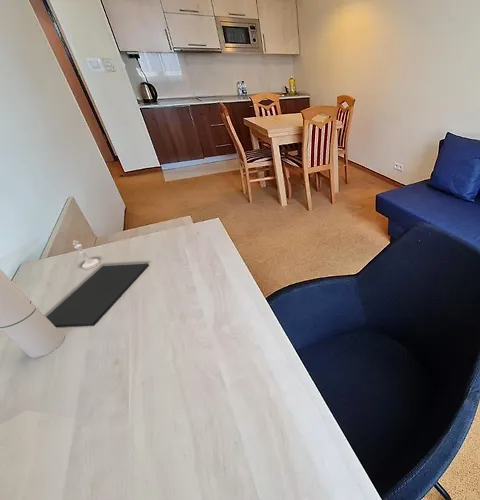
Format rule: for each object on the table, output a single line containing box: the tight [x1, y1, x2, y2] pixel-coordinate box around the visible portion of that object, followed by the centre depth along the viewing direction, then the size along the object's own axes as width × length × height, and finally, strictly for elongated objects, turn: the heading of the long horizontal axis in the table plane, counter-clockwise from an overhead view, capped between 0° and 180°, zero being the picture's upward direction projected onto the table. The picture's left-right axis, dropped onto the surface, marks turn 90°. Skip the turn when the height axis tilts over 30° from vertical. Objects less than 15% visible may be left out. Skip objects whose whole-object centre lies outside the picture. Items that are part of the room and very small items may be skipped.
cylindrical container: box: [0, 268, 65, 359], centre depth 69 cm, size 7×7×25 cm
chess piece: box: [72, 240, 101, 270], centre depth 102 cm, size 5×5×10 cm
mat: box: [45, 263, 150, 328], centre depth 91 cm, size 16×26×1 cm, turn 179°
